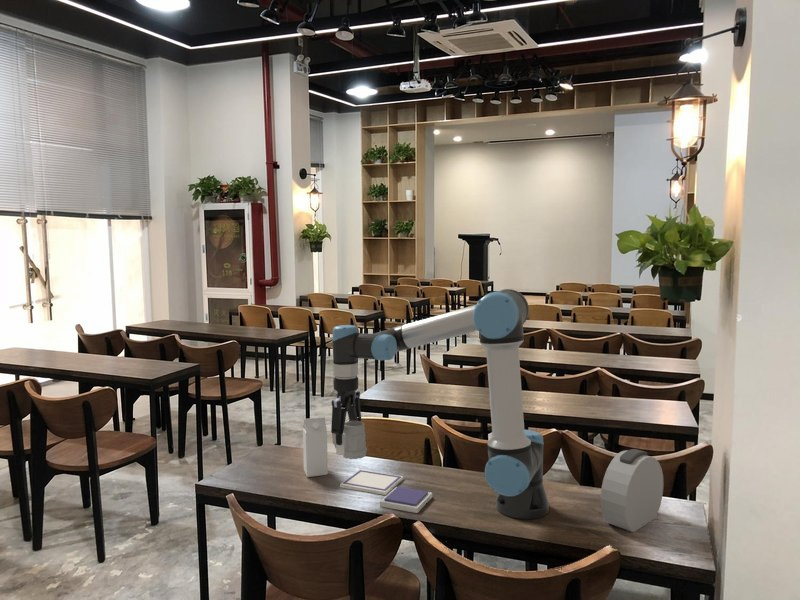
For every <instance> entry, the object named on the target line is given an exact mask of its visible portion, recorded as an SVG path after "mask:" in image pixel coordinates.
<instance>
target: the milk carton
mask: <svg viewBox="0 0 800 600" xmlns="http://www.w3.org/2000/svg"><path fill="white" fill-rule="evenodd" d="M327 429H328V428H327V423H326V418H325V417H324V416H323V417H313V418H311V417H310V418H304V419H303V425H302V446H303V447H302V449H303V450H302V451H303V453H302V454H303V471H304V473H305V475H306V477H307V478H310V477H318V476H326V475H329V471H328V470H329V467H328V458H329V457H328V430H327Z"/></svg>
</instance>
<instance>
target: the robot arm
mask: <svg viewBox="0 0 800 600" xmlns="http://www.w3.org/2000/svg"><path fill="white" fill-rule="evenodd" d="M529 313H530V306H529V302H528V300H527V298H526V297H525V296H524V295H523V294H522V293H520V292H519V291H518V290H516V289H515V290H514V289H511V288H509V289H508V288H507V289H505V288H504V289H500V290H498V291H497V290H496V291H490V292H489V293H487V294H485V295H484V296H483V297H481V298H480V299H479V300H478V301H477V303H476V304H474V305H470V306H467V307H463V308H459V309H456V310H451V311H449V312H445V313H442V314H439V315H434V316H430V317H427V318H424V319H420V320H416V321H413V322H409V323H406V324H403V325H399V326H394V327H391V328H389V329H385V330H381V331H379V332H375V333H366V332H365V333H362V332H361V333H360V332H359V331H358V326H357V325H353V324H344V325H343V324H342V325H341V324H340V325H336V326H334V327H333V329H332V340H331V343H332V370H333V371H332V372H333V376H334V377H333V379H332V380H333V390H334V391H336V392H337V394H336V399H331V411H332V412H331V428H330V430H331V433H330V434H332V433H333V434H336V448H335V451H336V452H335V455H337V456H344V455H345V434H344V433H343V432H344V425H345V422H346V418H347V416H348V421H362V412H361V411H362V409H361V401H360V399H361V391H360V390H358V389H359V377H358V376H359V359H363V360H366V359H367V360H374V361H375V360H376V361H377V360H378V361H390V360H393V359H394V357H395V356H396V353H398V352H403V351H406V350H409V349H412V348H417V347H420V346H425V345H429V344H432V343H436V342H441V341H444V340H448V339H451V338H455V337H459V336H460V337H461V336H463V335H467V334H468V335H469V334H472V333H475V332H478V333H479V335H478V336H479V344H480V345H481V346H482V347H483V348H485V350H486V351H485V353H486V364H487V365H486V366H487V367H486V368H487V377H488V378H487V379H488V389H489V391H488V392H489V404H490V406H489V407H490V419H491V420H490V421H491V433H492V436H491V437H490V439H488V440H487V455H488V461H486V464H485V468H484V477H485V481H486V483H487V485H488V486H489V487H490V489H492V490H493V491H494V492H496V493H497V495H496V497H495V508H496V510H497V511H498V512H500V514H503V515H504V516H507V517H510V518H515V519H521V520H531V519H532V520H534V519H539V518H542V517H545V516H546V515H547V514H548V513H549V506H550V505H549V500H548V496H547V493H546V490H545V487H544V483H543V482H544V481H543V480H544V479H543V476H544V472H543V471H544V468H543V467H544V445H545V443H544V437H543V434H541V433H540V432H538V431H535V430H530V429H525V422H524V419H525V418H524V408H523V404H524V403H523V393H522V378H521V377H522V376H521V366H520V365H521V364H520V363H521V362H520V352H519V350H520V349H519V347H520V346H521V345H522V344H523V342H525V341H524V339H525V338H524V337H525V335H524V324H525V323H526V322H527V320H528V318H529V315H530V314H529Z"/></svg>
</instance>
